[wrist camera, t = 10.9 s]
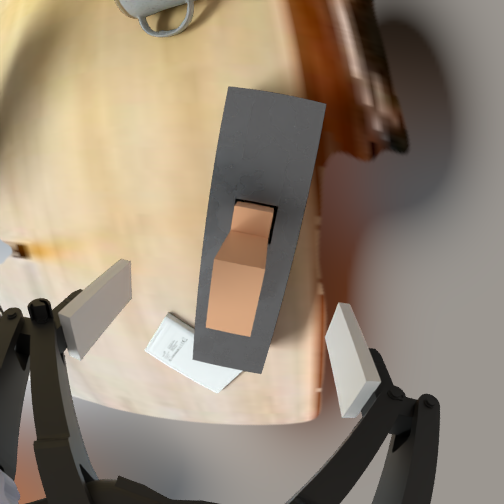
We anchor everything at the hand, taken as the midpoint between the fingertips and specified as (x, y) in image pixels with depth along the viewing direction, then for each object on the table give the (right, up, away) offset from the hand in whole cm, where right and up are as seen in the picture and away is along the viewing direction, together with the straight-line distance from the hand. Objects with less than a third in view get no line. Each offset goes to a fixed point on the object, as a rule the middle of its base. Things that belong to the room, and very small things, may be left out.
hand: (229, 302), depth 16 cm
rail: (+1, +5, +13) cm, 13 cm away
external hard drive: (-6, -11, +20) cm, 24 cm away
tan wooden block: (+1, +4, +12) cm, 12 cm away
